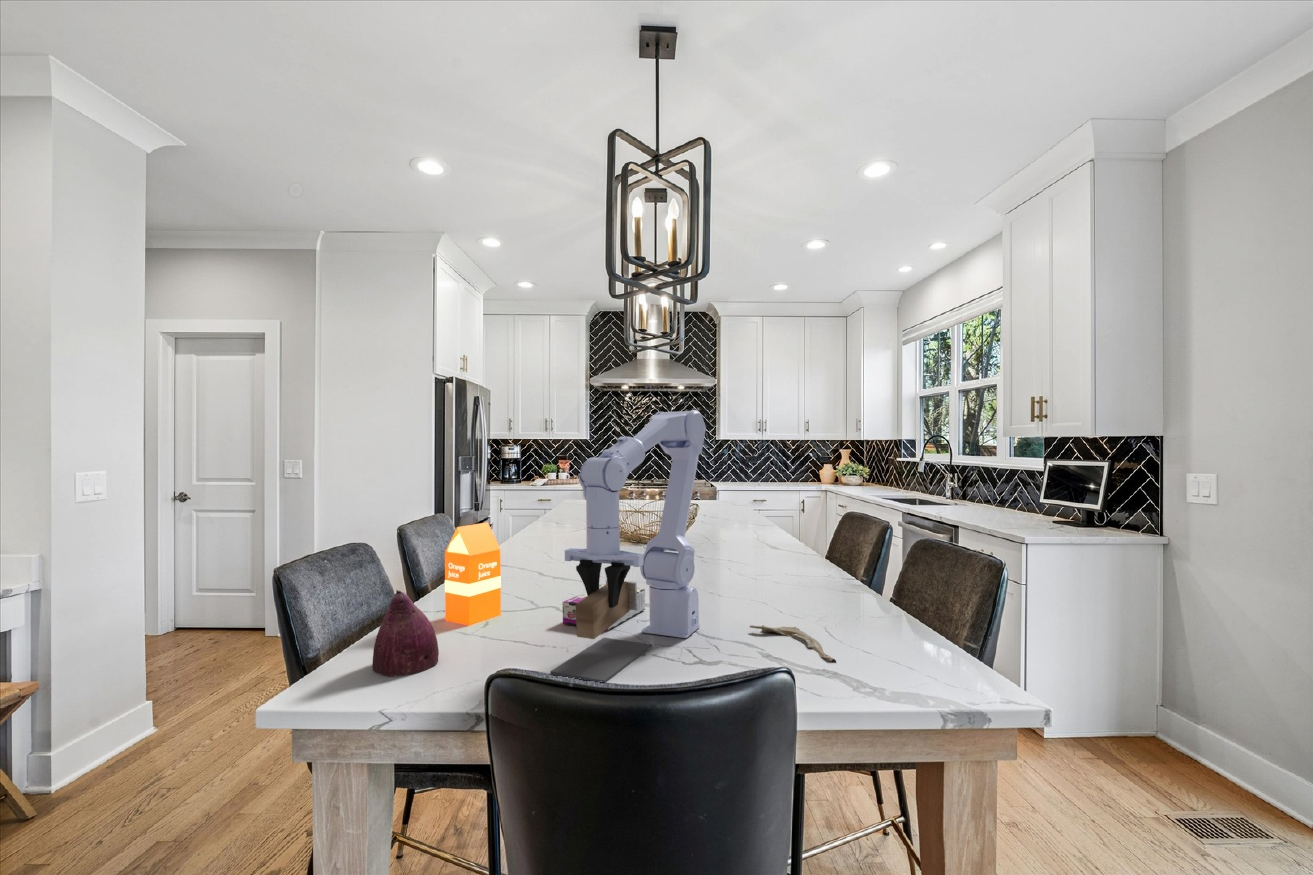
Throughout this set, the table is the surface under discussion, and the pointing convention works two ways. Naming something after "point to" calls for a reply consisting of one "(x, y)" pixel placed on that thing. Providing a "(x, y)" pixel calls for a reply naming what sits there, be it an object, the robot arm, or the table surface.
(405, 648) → the vegetable
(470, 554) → the orange juice
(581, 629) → the tall tan post
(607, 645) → the mat
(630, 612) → the candy bar box
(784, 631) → the jawbone
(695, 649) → the table surface
